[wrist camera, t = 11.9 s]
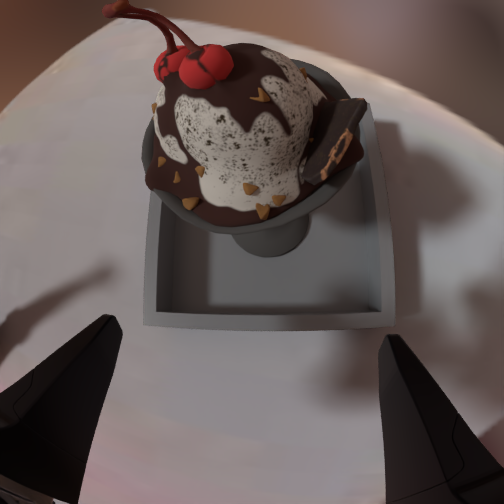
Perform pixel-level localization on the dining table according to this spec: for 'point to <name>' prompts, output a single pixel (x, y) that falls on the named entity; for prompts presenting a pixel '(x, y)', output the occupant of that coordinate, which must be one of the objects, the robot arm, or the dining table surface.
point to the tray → (280, 265)
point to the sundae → (245, 138)
